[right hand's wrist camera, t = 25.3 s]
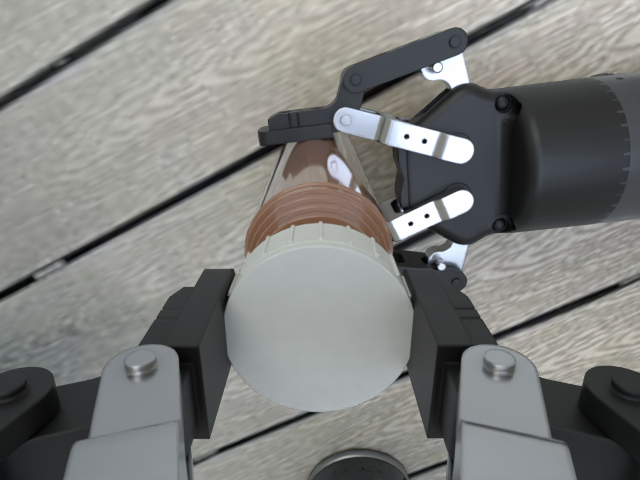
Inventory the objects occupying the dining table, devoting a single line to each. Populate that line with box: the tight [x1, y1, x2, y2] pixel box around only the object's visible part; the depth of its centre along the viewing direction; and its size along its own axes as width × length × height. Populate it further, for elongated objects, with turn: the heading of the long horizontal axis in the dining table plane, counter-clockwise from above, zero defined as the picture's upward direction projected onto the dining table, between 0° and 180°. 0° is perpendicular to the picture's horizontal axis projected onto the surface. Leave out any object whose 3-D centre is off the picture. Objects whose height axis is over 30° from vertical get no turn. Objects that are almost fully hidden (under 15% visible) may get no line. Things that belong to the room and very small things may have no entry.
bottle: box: [245, 132, 393, 259], centre depth 21 cm, size 5×5×20 cm
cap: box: [224, 221, 414, 412], centre depth 11 cm, size 5×5×2 cm
